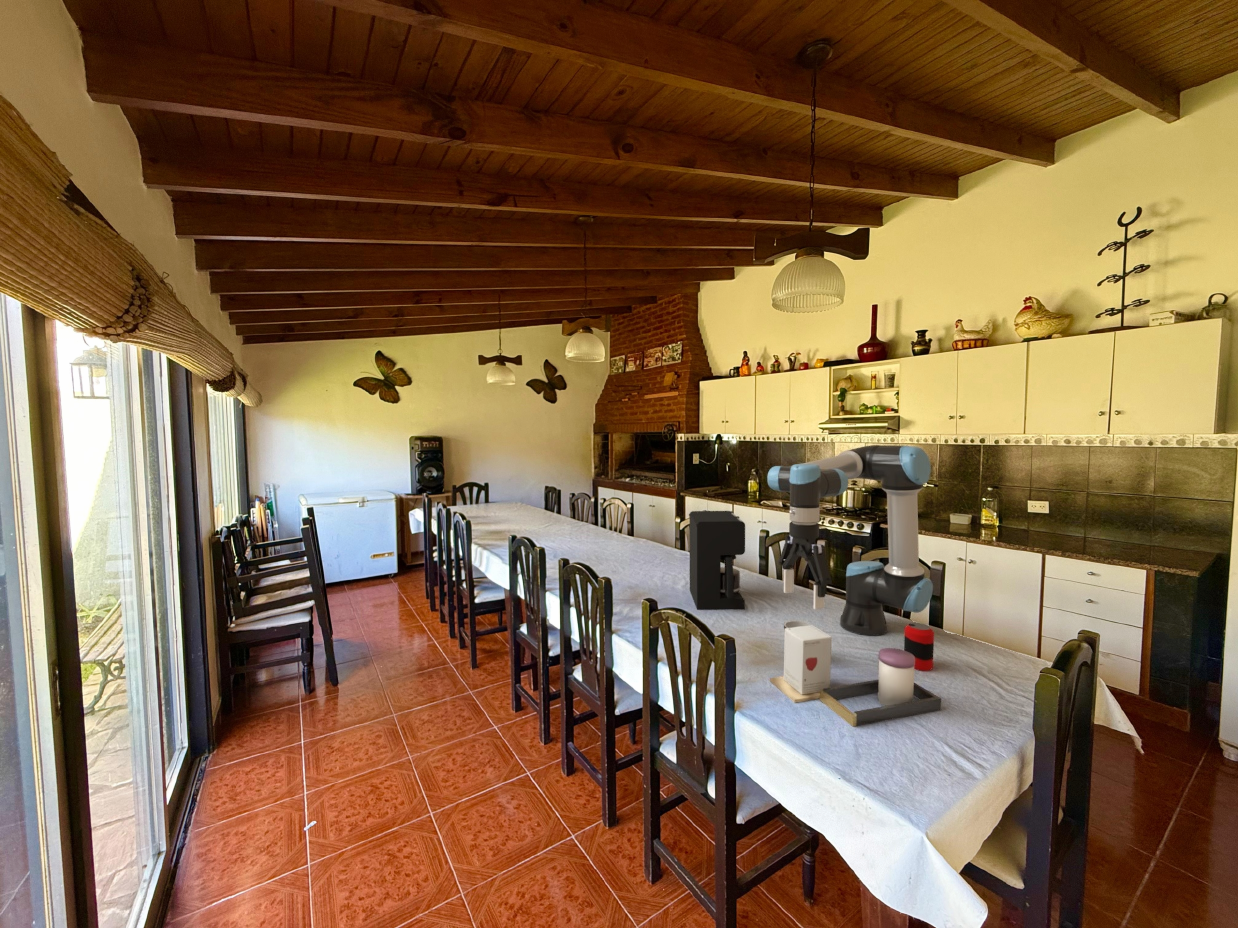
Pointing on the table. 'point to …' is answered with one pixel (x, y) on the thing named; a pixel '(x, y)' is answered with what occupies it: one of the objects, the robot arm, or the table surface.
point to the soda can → (920, 645)
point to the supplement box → (807, 659)
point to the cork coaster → (792, 690)
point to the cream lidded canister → (895, 676)
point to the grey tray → (878, 714)
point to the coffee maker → (715, 559)
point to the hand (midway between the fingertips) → (803, 600)
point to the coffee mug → (795, 624)
